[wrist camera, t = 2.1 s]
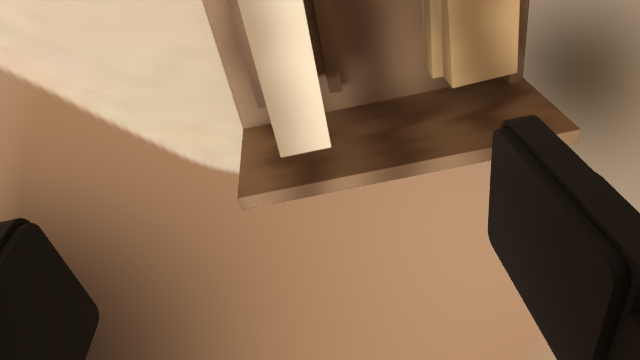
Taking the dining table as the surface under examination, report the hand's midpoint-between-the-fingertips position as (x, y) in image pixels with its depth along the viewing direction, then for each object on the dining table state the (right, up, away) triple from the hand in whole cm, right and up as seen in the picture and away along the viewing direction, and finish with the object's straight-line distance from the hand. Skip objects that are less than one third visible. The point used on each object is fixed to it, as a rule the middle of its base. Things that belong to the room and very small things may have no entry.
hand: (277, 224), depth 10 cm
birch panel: (-2, +15, +21) cm, 25 cm away
